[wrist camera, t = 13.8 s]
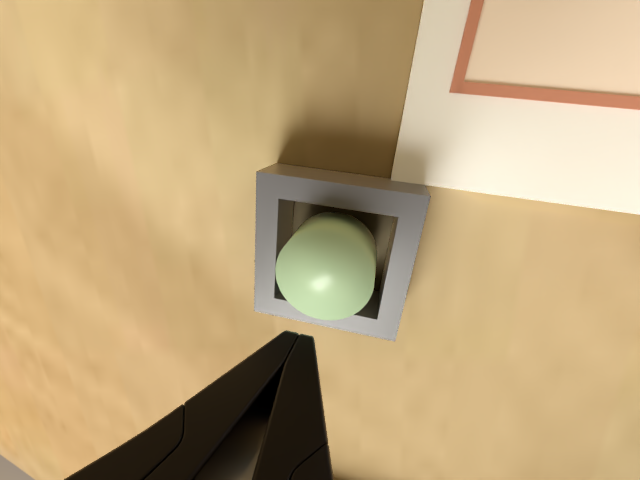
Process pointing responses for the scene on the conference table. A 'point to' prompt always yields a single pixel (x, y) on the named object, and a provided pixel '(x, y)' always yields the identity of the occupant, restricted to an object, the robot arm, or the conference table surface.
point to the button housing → (348, 193)
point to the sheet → (526, 101)
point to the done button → (328, 266)
